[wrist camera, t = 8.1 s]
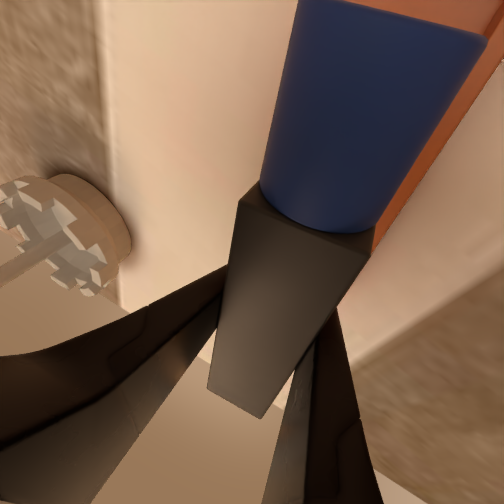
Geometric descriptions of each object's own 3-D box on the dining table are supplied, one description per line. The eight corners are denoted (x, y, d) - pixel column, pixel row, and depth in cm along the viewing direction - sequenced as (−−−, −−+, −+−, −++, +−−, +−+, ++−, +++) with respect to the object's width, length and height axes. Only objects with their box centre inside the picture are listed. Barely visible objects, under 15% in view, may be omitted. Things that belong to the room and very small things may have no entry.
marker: (278, 371, 15) (257, 425, 13) (231, 347, 15) (204, 395, 13) (474, 34, 5) (516, 42, 3) (324, -3, 5) (272, -17, 3)
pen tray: (343, -93, 11) (332, -112, 9) (560, -54, 9) (588, -68, 8) (252, 258, 24) (242, 273, 23) (335, 295, 23) (330, 314, 21)
